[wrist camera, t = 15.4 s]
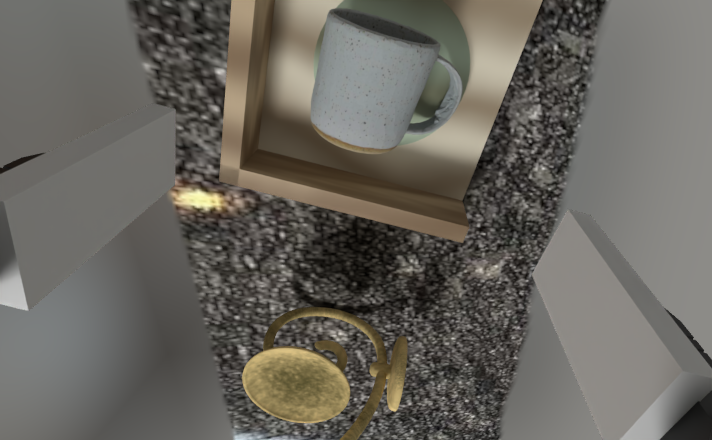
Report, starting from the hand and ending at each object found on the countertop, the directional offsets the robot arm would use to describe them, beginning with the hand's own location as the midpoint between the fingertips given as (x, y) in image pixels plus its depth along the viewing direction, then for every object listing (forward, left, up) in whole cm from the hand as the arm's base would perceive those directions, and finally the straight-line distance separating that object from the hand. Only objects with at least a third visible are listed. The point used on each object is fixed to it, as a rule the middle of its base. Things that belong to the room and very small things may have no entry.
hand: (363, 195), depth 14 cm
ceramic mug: (0, 0, -22) cm, 22 cm away
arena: (0, -1, -22) cm, 22 cm away
